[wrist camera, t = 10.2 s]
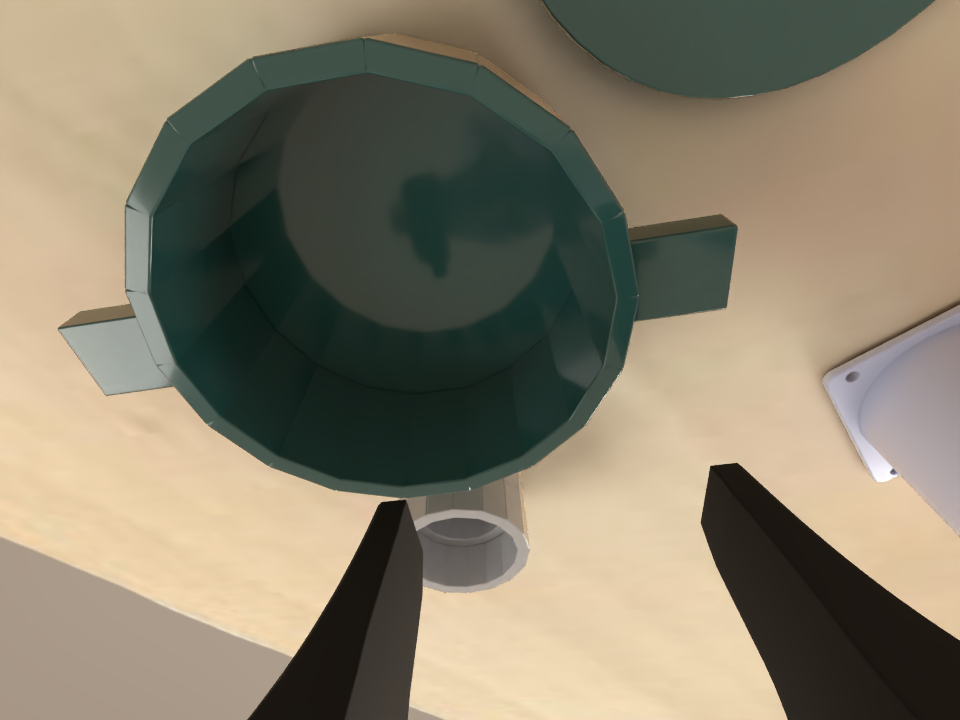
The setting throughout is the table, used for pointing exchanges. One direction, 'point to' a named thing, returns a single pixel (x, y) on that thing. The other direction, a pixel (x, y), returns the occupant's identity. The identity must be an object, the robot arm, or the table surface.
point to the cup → (472, 536)
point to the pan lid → (728, 39)
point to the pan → (386, 269)
